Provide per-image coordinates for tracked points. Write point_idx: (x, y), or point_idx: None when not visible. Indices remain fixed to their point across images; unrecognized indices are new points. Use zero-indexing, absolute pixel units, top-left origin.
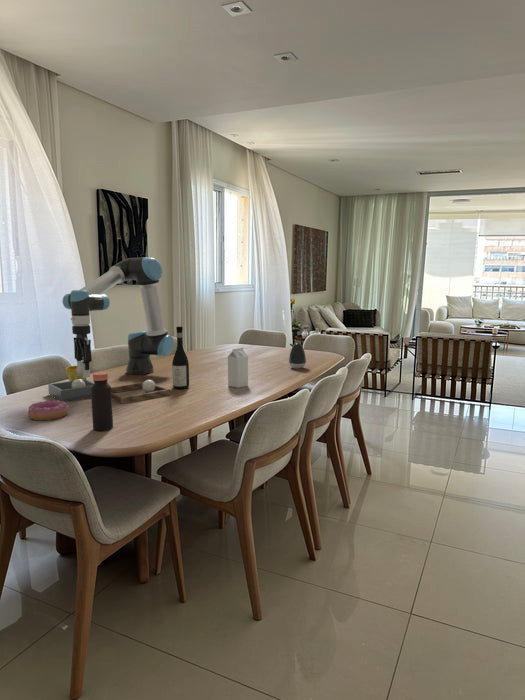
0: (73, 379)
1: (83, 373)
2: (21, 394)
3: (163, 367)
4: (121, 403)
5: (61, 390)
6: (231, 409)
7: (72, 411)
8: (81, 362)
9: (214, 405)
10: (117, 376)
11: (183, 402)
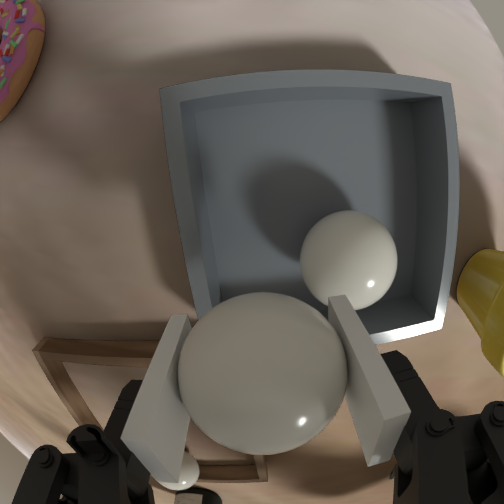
0: (494, 270)
1: (174, 338)
2: (467, 20)
3: None
4: (44, 338)
5: (164, 92)
6: (4, 432)
7: (4, 146)
8: (366, 434)
9: (23, 439)
10: (474, 409)
11: (43, 431)
